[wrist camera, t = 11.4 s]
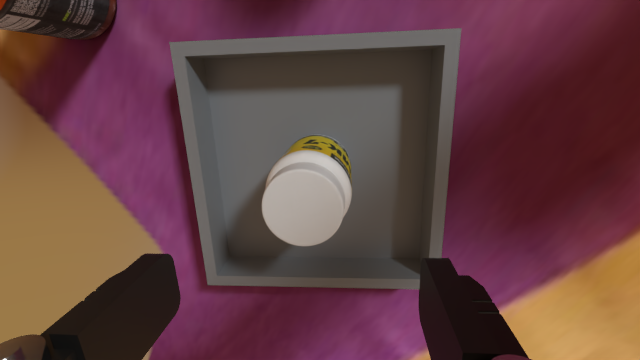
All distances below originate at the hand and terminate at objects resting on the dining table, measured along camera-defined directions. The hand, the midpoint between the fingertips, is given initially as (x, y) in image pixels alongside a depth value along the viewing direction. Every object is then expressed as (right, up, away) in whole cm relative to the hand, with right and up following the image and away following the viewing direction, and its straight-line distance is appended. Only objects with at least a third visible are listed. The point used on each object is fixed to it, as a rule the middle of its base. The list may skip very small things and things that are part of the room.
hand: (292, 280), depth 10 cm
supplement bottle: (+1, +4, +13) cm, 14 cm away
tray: (+1, +4, +14) cm, 14 cm away
